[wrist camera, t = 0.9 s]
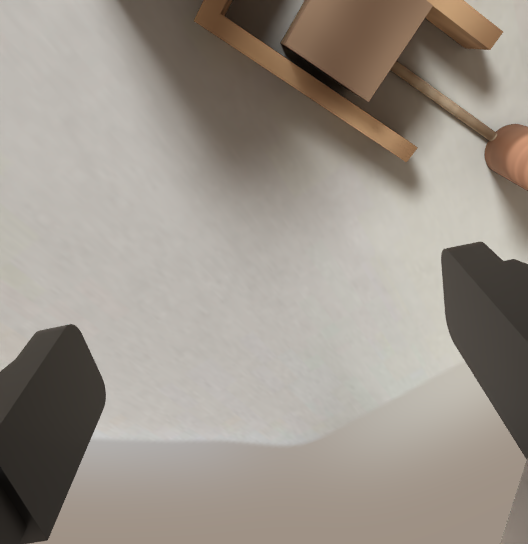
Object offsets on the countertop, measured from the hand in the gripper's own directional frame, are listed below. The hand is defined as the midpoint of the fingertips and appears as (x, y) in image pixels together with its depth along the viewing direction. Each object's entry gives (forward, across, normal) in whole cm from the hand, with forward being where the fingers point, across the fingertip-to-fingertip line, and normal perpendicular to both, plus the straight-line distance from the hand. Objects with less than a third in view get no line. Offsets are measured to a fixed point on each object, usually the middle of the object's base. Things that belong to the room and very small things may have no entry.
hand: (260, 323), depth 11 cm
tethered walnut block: (+23, -10, 0) cm, 25 cm away
